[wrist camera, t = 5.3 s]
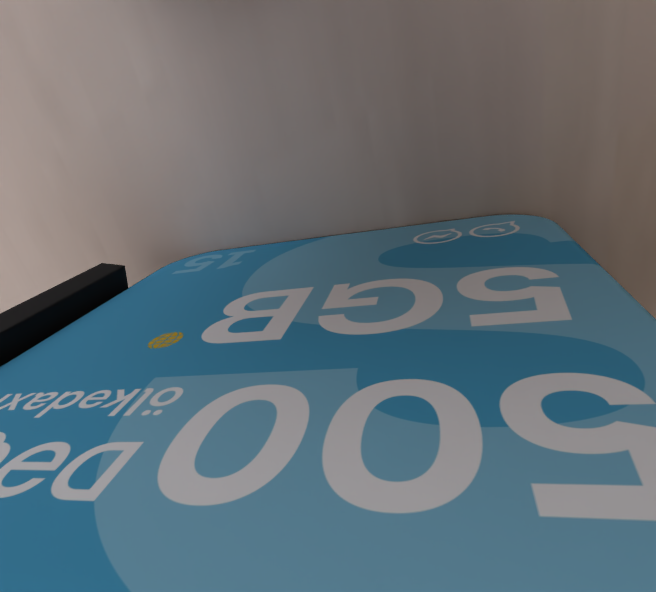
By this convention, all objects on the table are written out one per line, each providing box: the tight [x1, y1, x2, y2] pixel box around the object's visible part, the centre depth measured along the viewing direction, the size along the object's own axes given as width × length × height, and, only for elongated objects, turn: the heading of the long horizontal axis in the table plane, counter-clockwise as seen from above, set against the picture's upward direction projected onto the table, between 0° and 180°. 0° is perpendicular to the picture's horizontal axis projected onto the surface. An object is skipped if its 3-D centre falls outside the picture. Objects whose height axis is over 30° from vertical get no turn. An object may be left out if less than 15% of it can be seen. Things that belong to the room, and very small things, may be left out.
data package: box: [0, 215, 656, 592], centre depth 10 cm, size 12×4×12 cm, turn 101°
